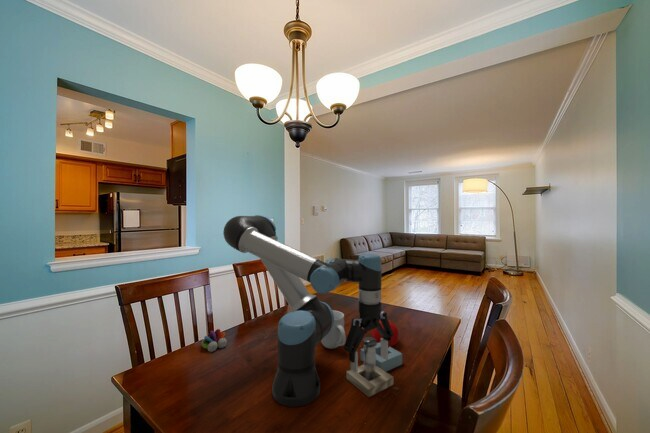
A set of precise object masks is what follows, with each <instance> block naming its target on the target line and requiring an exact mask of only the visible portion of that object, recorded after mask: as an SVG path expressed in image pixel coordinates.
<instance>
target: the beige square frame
mask: <svg viewBox="0 0 650 433" xmlns="http://www.w3.org/2000/svg"><path fill="white" fill-rule="evenodd" d="M345 372H346V375H345V376H346V378H345V379H346V380H347V381H349V382H350V383H351V384H352V385H354V387H356V388H357V389H358V390H359V391H360V392H361V393H363V395H365V396H366V397H368V398H370V397H372V396H374V395H376V394H378V393H380V392H382V391H384V390H386V389H388V388H390V387H392V386H393V385H394V376H392V375H391V374H390V373H388V372H387V371H386V372H385V371H383V370H382V369H380V368H379V367H377V366H376V378H375V379H373V380H371V381H368V380H367V379H365V378H364V377H363V374H364V363H363V364H361V365H358V373H355V372H354V371H352V370H351V369H349V370H346V371H345Z"/></svg>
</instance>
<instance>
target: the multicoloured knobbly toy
mask: <svg viewBox="0 0 650 433" xmlns="http://www.w3.org/2000/svg"><path fill="white" fill-rule="evenodd" d="M225 336H226V332H225V331H221V329H220V328H217V329H216V330H215V331H214V330H210V331H209V336H207V335H205V336H204V338H203V339H202V341H201V346H202V349H207V351H208V352H210V353H212V352H215V351H216V350H217V349H218V348H219V349H223V348H225V347H226V345H227V344H228V341H227V338H226V337H225Z"/></svg>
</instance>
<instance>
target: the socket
mask: <svg viewBox="0 0 650 433" xmlns="http://www.w3.org/2000/svg"><path fill="white" fill-rule="evenodd" d="M359 358H360V361H361V362H363V363H364V347H363V348H360V357H359ZM401 365H403V353H401V352H400V351H399V350H397V349H395V348H393V347H389V348H388V360H385V359H383V358H382V357H381V342H379V343H377V345H376V366H377V367H379V368H380V369H382V370H383V371H385V372H386V373H387V372H388V371H391V370H392V369H395V368H397V367H399V366H401Z"/></svg>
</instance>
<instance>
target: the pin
mask: <svg viewBox="0 0 650 433" xmlns="http://www.w3.org/2000/svg"><path fill="white" fill-rule="evenodd" d="M362 345H363V348H364V362H363V364H364V374H363V377H364V378H365V379H367V380H368V381H371V380H373V379H375V378H376V345H377V340H376V339H375V338H373V337H372V336H366V337H365V336H364V337H363V338H362Z"/></svg>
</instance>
